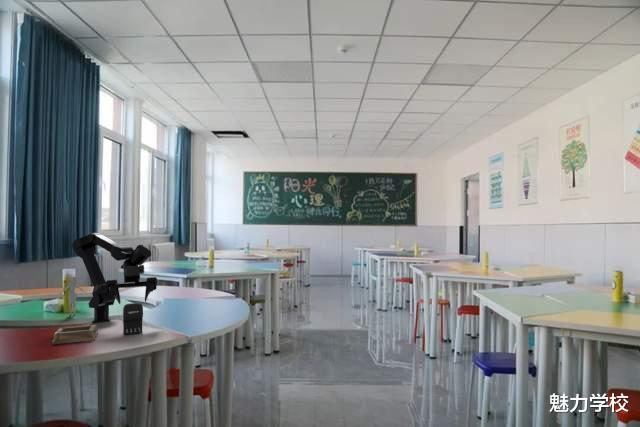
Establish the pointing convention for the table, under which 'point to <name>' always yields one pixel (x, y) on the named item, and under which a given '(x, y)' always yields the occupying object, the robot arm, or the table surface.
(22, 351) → the table surface
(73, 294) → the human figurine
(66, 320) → the table surface
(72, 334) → the wooden tray
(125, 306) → the battery
